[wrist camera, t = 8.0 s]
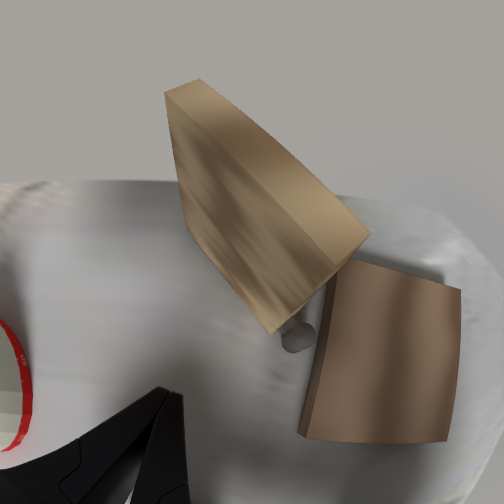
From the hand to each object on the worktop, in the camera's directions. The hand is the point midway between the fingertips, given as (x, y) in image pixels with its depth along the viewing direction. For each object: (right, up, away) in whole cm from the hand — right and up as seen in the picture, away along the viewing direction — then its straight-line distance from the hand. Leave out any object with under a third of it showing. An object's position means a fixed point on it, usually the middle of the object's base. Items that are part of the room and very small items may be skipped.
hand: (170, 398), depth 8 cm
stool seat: (+14, -4, +14) cm, 20 cm away
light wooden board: (+2, +2, +15) cm, 16 cm away
